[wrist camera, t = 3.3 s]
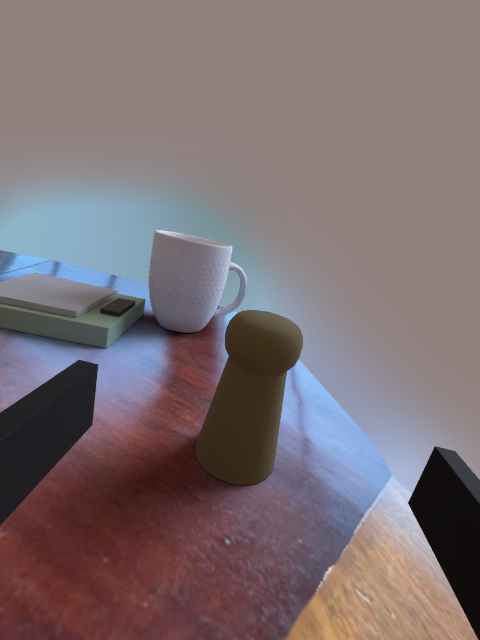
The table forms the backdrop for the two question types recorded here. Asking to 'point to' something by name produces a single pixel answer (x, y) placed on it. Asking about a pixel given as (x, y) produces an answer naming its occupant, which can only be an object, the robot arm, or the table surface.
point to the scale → (67, 309)
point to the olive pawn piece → (249, 398)
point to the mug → (190, 280)
